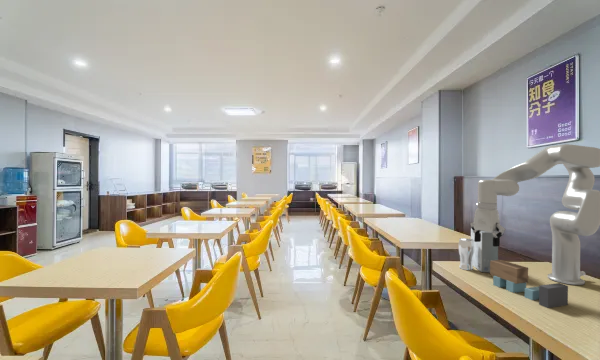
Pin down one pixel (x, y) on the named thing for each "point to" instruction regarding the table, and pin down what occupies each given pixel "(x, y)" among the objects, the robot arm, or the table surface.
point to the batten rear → (499, 282)
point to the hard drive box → (484, 251)
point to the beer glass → (466, 253)
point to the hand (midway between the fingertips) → (486, 243)
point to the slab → (509, 271)
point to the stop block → (553, 295)
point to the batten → (532, 293)
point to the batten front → (515, 286)
